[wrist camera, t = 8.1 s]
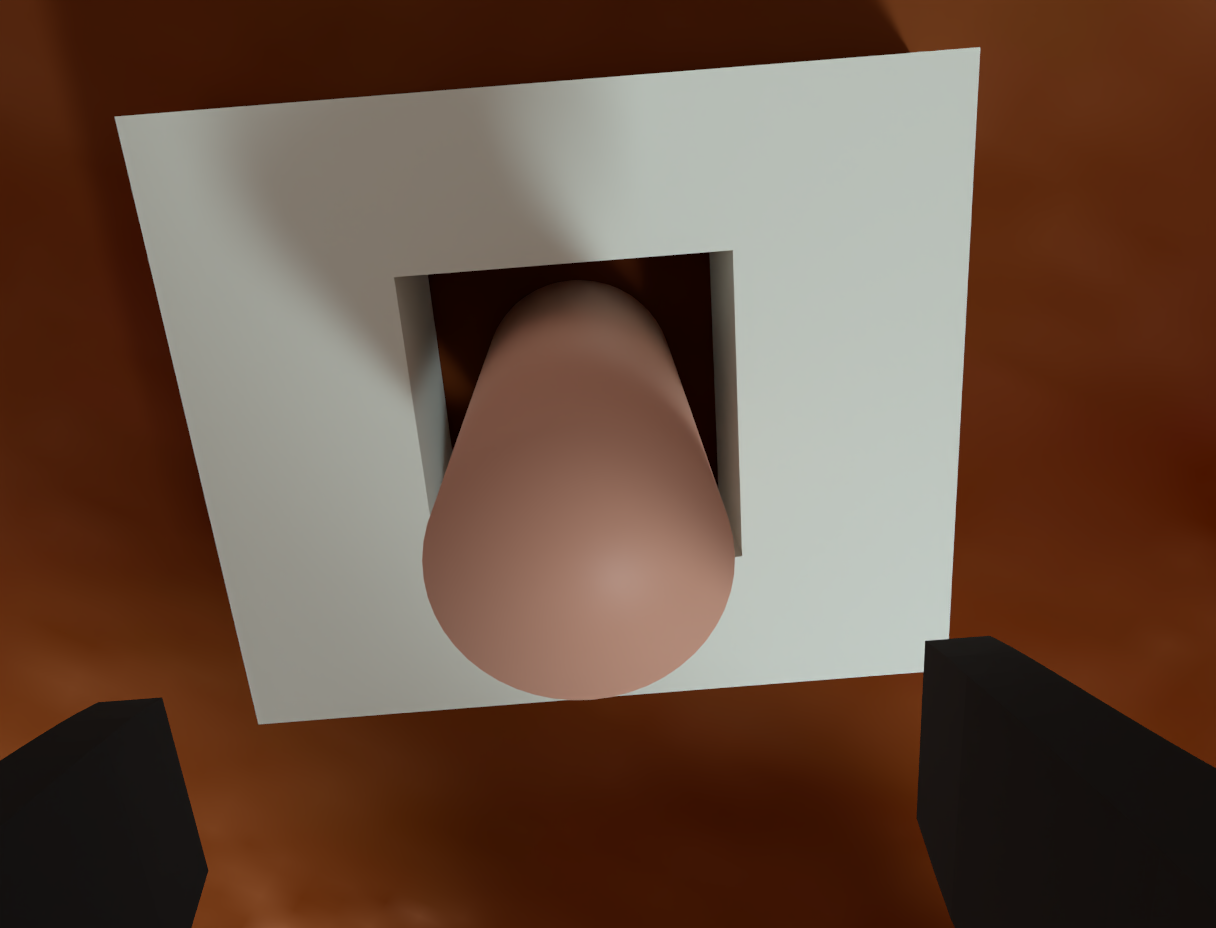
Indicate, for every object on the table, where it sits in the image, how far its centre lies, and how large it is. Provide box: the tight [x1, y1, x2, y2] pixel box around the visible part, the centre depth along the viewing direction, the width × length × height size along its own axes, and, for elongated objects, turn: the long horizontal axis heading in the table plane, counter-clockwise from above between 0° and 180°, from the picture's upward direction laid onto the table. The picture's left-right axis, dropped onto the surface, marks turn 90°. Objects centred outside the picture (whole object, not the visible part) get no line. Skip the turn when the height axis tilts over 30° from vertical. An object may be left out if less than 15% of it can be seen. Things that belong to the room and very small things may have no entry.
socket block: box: [115, 47, 980, 724], centre depth 17 cm, size 12×10×3 cm
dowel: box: [422, 280, 735, 700], centre depth 15 cm, size 3×3×8 cm
